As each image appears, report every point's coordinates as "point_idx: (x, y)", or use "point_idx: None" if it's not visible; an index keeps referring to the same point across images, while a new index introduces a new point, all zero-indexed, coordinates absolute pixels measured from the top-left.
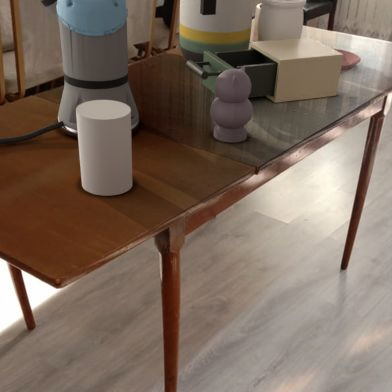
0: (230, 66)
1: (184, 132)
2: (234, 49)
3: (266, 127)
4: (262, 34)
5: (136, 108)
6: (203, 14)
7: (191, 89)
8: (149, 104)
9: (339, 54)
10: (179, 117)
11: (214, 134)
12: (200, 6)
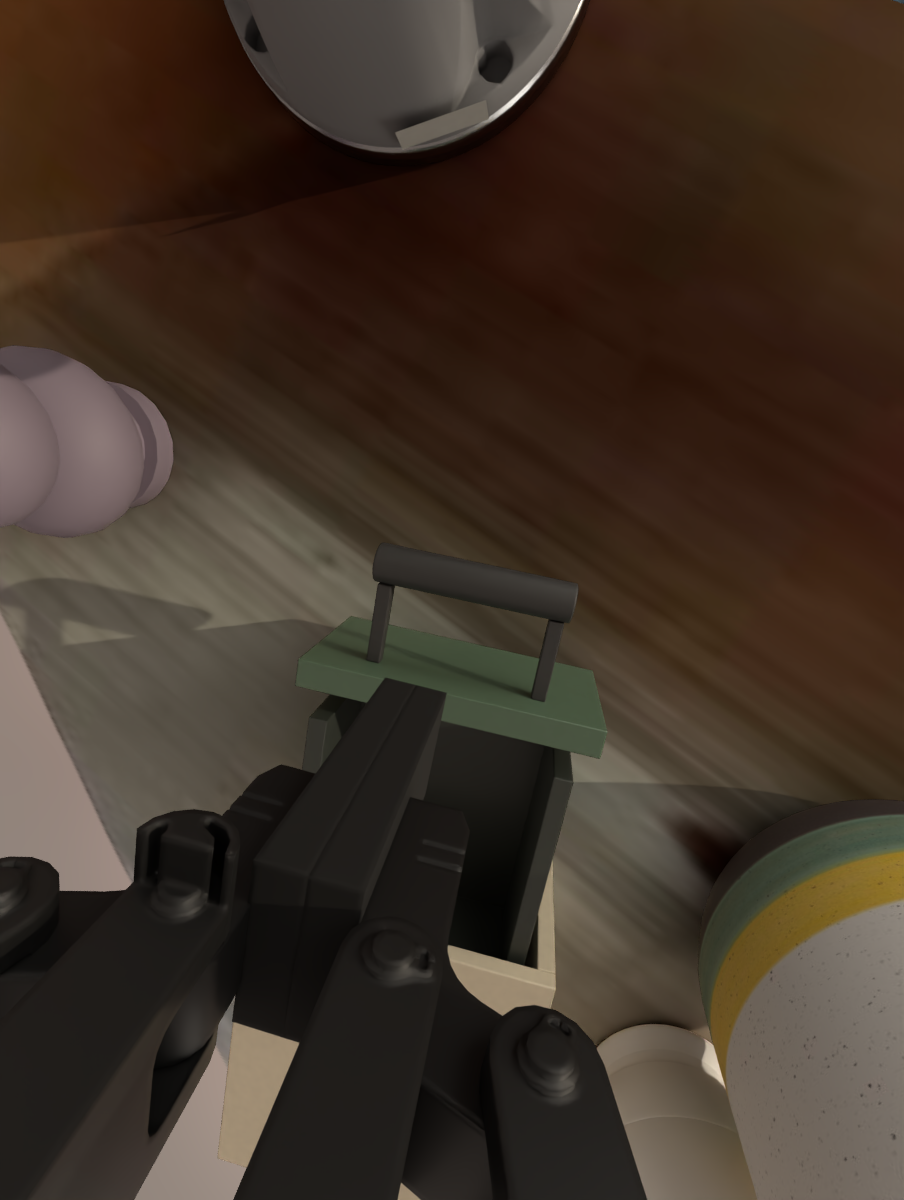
0: (320, 684)
1: (205, 303)
2: (704, 968)
3: (139, 613)
4: (697, 1158)
5: (303, 90)
6: (384, 684)
7: (602, 615)
8: (535, 333)
9: (222, 1145)
10: (345, 374)
11: (119, 384)
12: (435, 714)
